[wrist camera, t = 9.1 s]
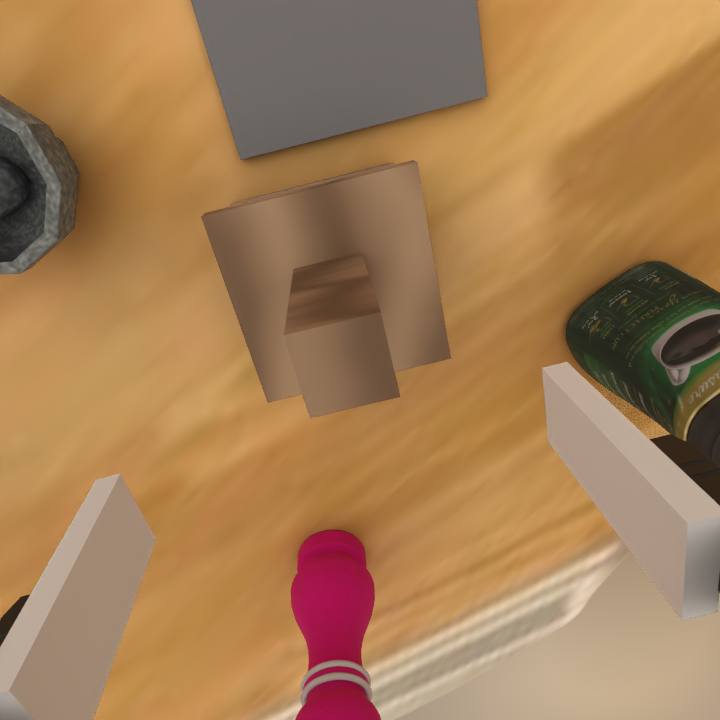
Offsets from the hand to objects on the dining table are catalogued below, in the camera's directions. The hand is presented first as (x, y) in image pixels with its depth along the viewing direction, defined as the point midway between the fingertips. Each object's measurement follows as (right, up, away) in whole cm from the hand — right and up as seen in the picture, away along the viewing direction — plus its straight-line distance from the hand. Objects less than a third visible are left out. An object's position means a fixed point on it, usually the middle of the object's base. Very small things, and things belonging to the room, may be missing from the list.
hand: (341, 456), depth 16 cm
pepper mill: (-2, -15, +33) cm, 37 cm away
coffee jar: (+21, +6, +25) cm, 33 cm away
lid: (-1, +7, +16) cm, 17 cm away
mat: (-1, +25, +14) cm, 29 cm away
